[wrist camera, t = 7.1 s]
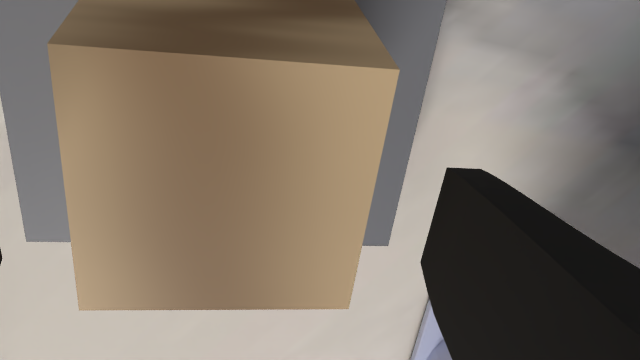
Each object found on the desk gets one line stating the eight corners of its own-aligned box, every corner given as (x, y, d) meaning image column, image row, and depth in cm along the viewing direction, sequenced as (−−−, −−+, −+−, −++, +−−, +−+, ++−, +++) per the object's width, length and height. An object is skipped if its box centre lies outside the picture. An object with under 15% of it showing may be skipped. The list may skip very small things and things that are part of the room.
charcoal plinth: (440, -142, 14) (478, -132, 12) (370, 198, 19) (388, 245, 17) (-6, -205, 12) (-53, -205, 10) (49, 189, 18) (26, 241, 16)
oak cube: (343, -17, 13) (399, 69, 9) (315, 173, 16) (349, 308, 11) (107, -41, 12) (47, 43, 8) (120, 166, 15) (79, 310, 11)
